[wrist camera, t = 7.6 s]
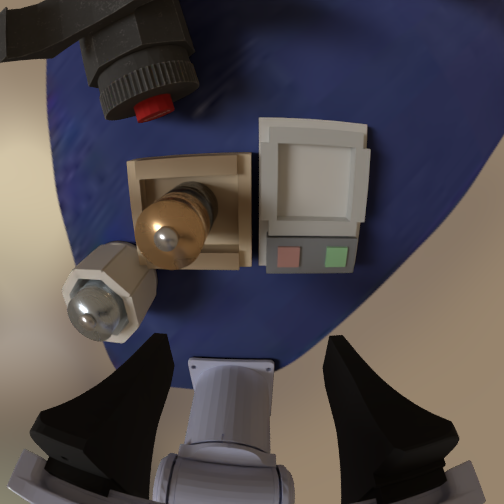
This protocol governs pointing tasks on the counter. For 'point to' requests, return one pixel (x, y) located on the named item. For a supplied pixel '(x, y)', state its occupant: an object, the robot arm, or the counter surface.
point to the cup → (117, 282)
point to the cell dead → (96, 310)
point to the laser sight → (111, 49)
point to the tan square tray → (224, 188)
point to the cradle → (311, 194)
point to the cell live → (176, 225)
